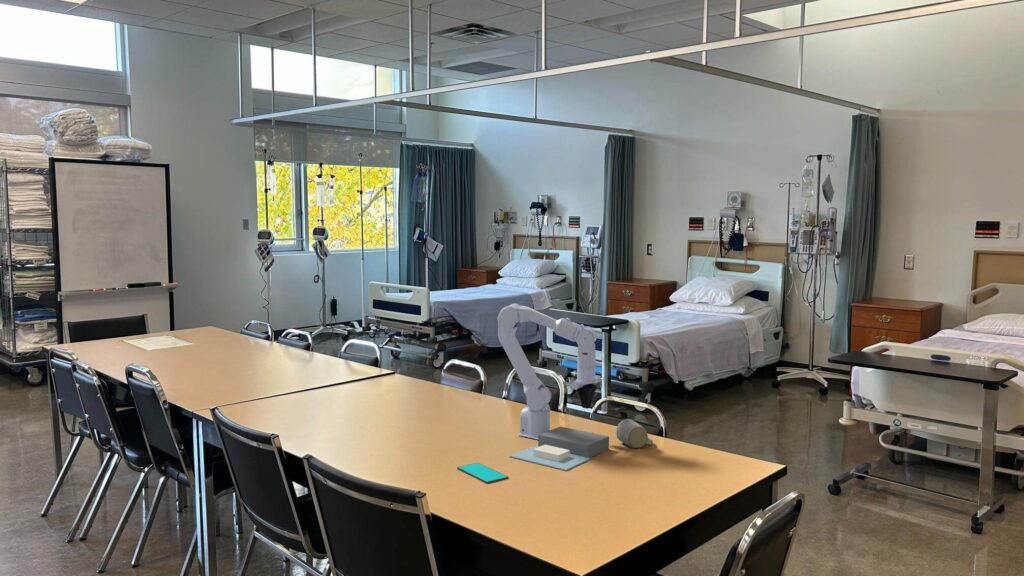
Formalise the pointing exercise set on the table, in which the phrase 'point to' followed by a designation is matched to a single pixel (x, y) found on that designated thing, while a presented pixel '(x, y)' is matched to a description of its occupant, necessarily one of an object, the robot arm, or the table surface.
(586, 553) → the table surface
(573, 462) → the mat
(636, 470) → the table surface
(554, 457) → the cream rectangular block
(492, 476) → the smartphone
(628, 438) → the ceramic mug
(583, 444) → the plate
